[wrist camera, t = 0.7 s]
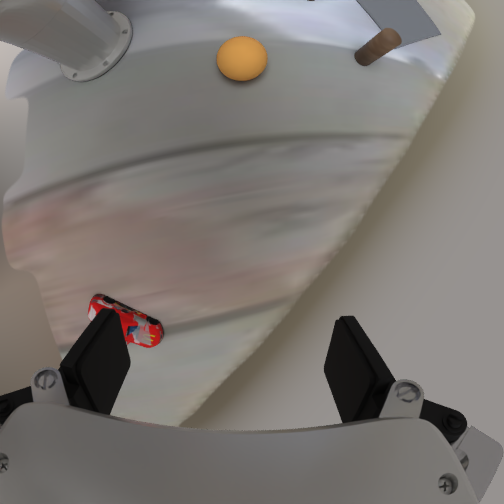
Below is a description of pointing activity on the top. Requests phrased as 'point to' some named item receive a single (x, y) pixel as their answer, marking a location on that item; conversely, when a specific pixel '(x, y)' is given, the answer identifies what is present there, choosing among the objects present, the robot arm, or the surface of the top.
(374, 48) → the post
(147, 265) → the top surface
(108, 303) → the race car
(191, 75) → the top surface
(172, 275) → the top surface
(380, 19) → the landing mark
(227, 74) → the ball
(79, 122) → the top surface
